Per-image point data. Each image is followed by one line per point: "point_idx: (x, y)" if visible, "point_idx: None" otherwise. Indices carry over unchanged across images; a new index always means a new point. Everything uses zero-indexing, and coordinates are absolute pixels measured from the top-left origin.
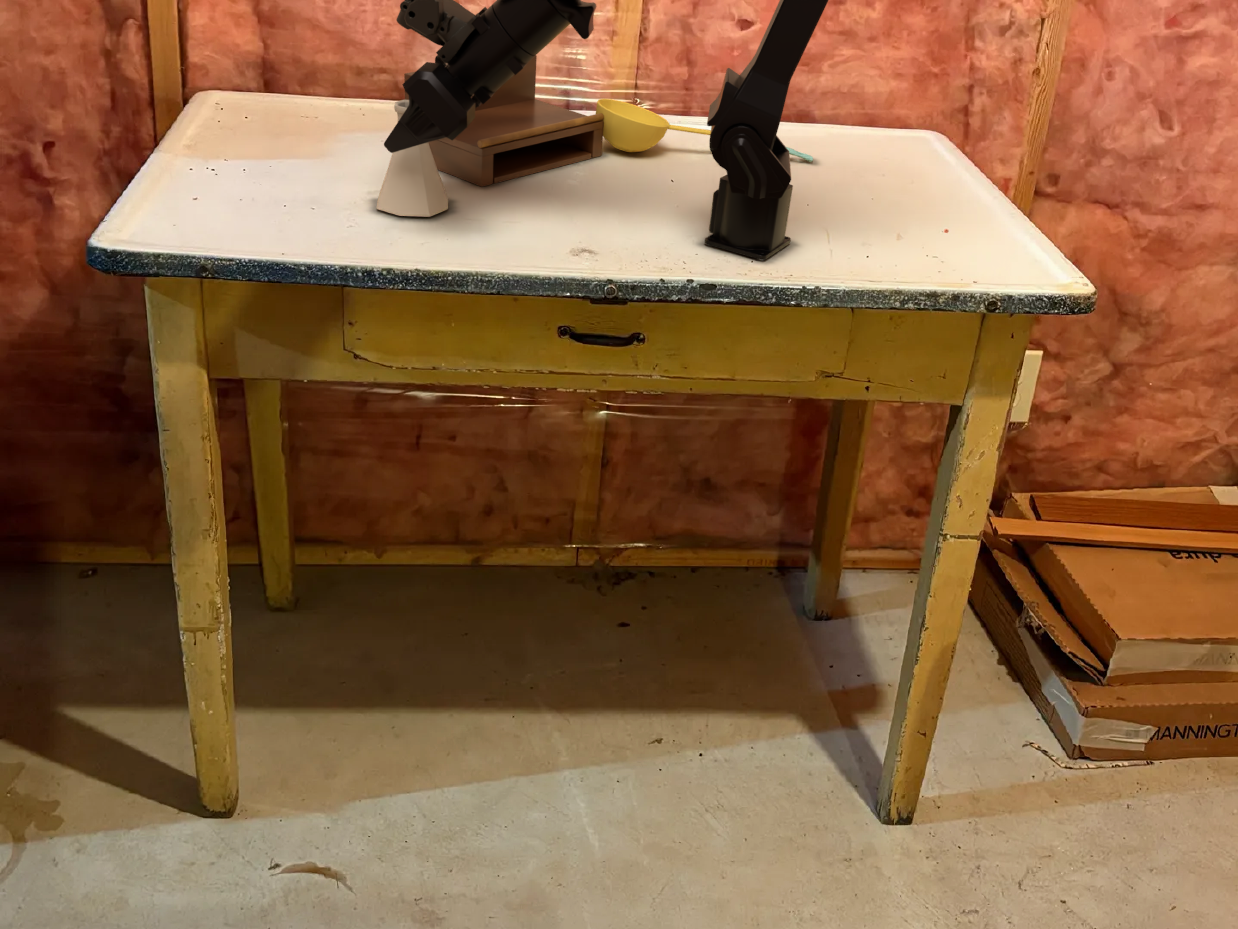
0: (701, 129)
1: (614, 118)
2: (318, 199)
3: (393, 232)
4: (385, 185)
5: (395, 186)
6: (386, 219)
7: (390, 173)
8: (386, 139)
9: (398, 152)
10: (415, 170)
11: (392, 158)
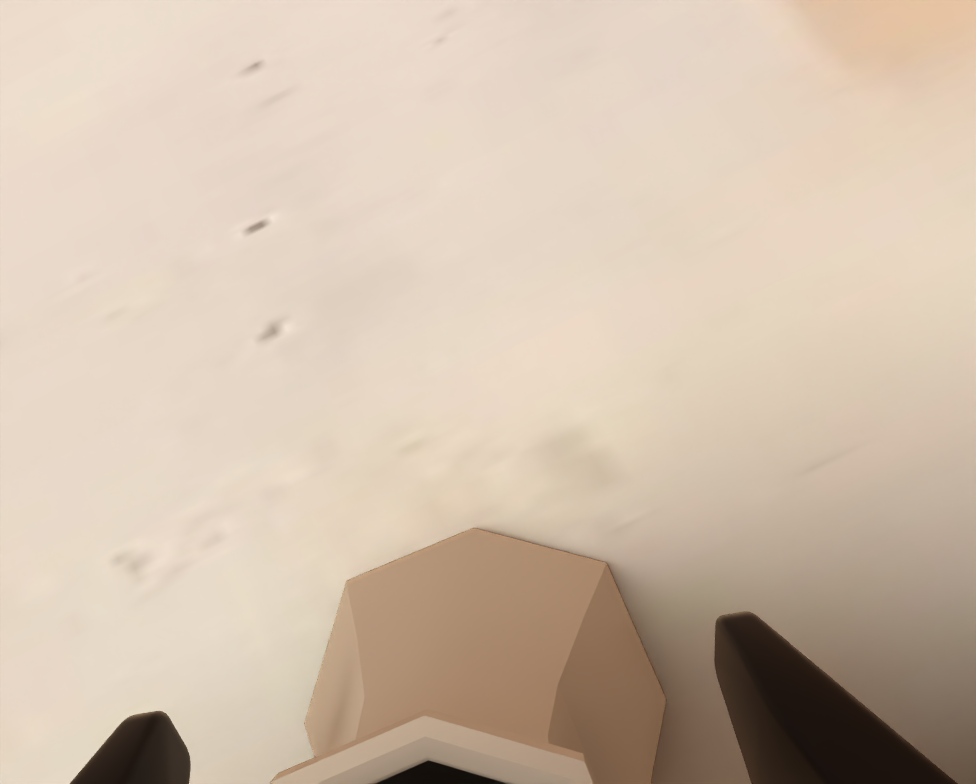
0: None
1: None
2: (385, 296)
3: None
4: (347, 627)
5: (328, 698)
6: (276, 667)
7: (351, 658)
8: (90, 760)
9: (351, 729)
10: None
11: (358, 673)
